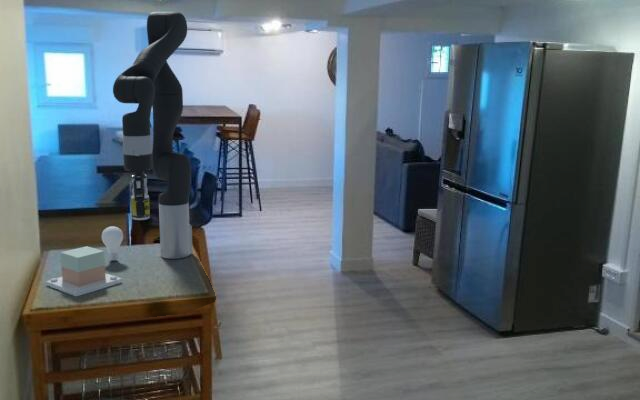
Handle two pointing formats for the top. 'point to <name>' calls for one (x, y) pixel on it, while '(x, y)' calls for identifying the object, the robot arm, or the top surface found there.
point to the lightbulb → (112, 241)
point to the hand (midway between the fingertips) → (141, 213)
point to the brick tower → (83, 272)
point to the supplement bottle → (147, 207)
